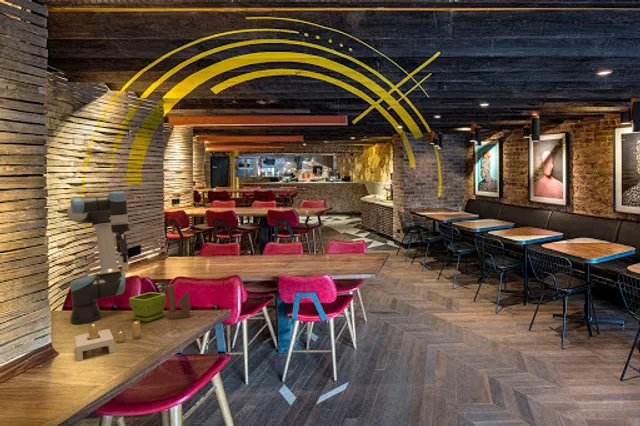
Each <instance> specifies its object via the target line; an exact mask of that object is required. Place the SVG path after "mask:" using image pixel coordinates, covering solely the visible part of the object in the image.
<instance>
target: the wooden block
mask: <svg viewBox="0 0 640 426" xmlns="http://www.w3.org/2000/svg"><path fill="white" fill-rule="evenodd" d="M166 292H167V293H166V294H167V295H166V296H167V303H168V304H167V305H168V312H167V317H168V320H178V319H189V318H190V317H191V309H190V298H189V297H190V295H189V290H187V291H186V292H185V293H184V294H183V295H182V296H181V298H180V299H179V300H178V301H177V302H176V297H175V296H176V294H175V284H168V285H167V286H166ZM177 306H179V307H181V308H180V309H181V310H180V309H176V308H177Z"/></svg>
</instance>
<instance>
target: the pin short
mask: <svg viewBox="0 0 640 426" xmlns="http://www.w3.org/2000/svg"><path fill="white" fill-rule="evenodd" d="M115 337H116V343H117V344H123V342H124V343H125V342H126V334H125V329H120V330H116V331H115Z"/></svg>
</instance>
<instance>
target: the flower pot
mask: <svg viewBox="0 0 640 426" xmlns="http://www.w3.org/2000/svg"><path fill="white" fill-rule="evenodd" d="M166 294H167V293H162V292H161V293H160V292H156V291H155V292H152V291H150V292H146V293H142V294H138V295H134V296H132V297H129V299H128V300H129V305H130V308H131V309H132V312H133V314H134V315H133V319H135V320H139V321H140V322H147V323H148V322H152V321H155V320H157V319H161V318H163V317H164V316H165V315H166V312H164V309H165V306H166V302H167V295H166Z"/></svg>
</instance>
